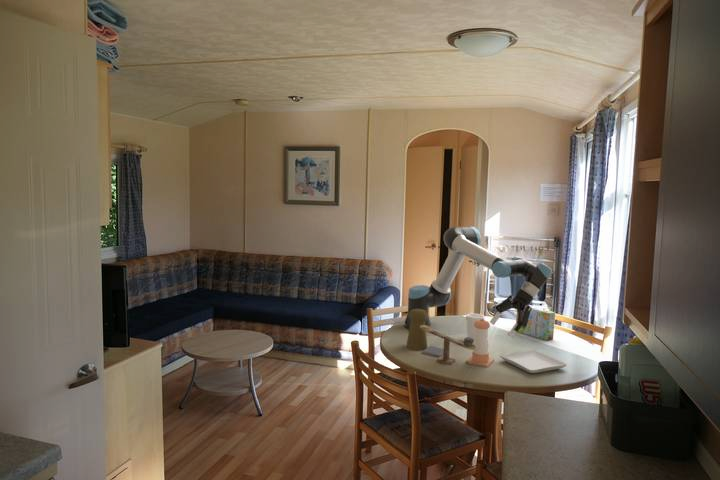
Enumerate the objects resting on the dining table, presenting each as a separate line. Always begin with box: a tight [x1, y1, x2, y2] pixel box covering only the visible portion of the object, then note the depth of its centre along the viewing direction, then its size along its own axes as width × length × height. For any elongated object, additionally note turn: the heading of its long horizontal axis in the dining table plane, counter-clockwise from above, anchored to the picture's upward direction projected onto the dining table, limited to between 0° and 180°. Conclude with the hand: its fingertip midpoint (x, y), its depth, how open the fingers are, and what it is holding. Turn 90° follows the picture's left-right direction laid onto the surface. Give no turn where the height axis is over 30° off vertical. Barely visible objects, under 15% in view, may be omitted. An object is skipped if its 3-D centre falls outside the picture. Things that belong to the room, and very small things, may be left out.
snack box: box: [515, 306, 556, 341], centre depth 271 cm, size 21×6×15 cm, turn 35°
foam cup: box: [465, 313, 485, 342], centre depth 260 cm, size 10×9×13 cm
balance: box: [420, 325, 476, 365], centre depth 225 cm, size 27×6×15 cm, turn 58°
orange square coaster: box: [465, 355, 495, 368], centre depth 226 cm, size 10×10×1 cm
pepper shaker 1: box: [406, 309, 428, 352], centre depth 244 cm, size 10×10×19 cm
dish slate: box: [421, 345, 444, 358], centre depth 238 cm, size 10×10×1 cm
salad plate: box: [499, 349, 568, 374], centre depth 223 cm, size 21×21×3 cm
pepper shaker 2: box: [471, 318, 491, 362], centre depth 225 cm, size 7×7×19 cm
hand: (500, 329), depth 230 cm, fingers open, 13 cm apart
